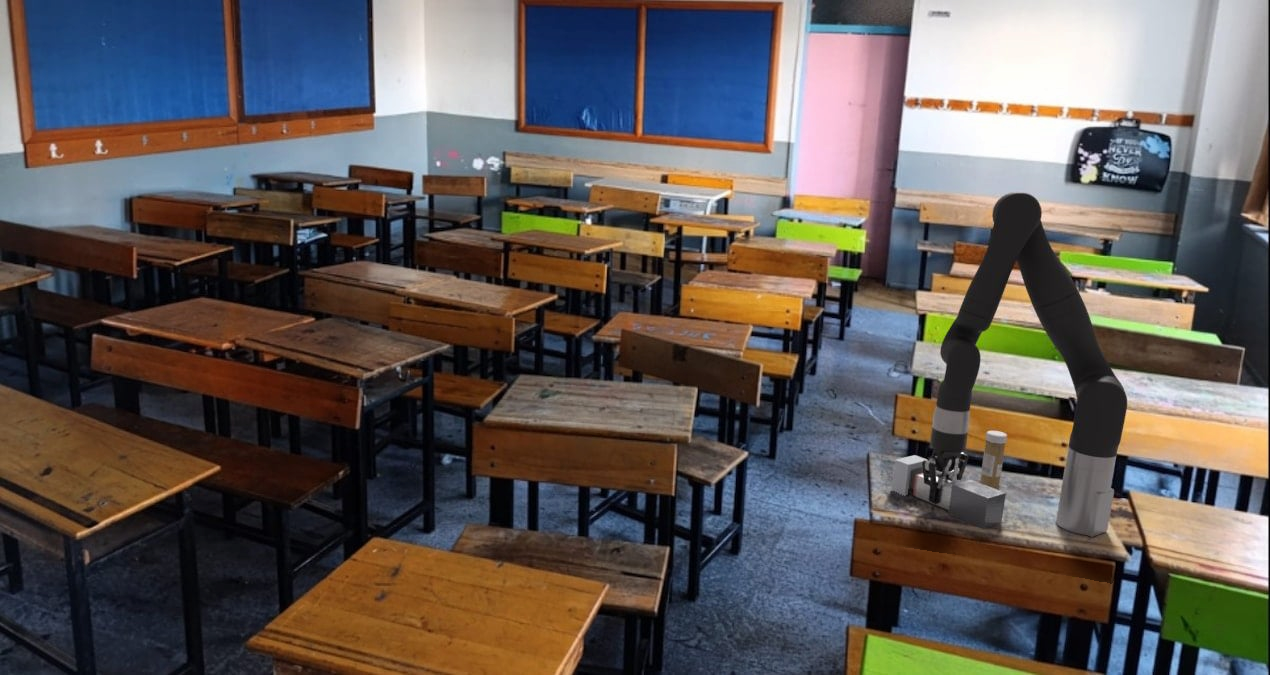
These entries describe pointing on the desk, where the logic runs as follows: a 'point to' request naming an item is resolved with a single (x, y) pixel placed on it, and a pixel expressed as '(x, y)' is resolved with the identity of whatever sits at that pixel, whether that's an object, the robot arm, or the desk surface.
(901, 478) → the socket block
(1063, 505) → the robot arm
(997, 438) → the sprinkles bottle
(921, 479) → the grey square post
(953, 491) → the sleeve
